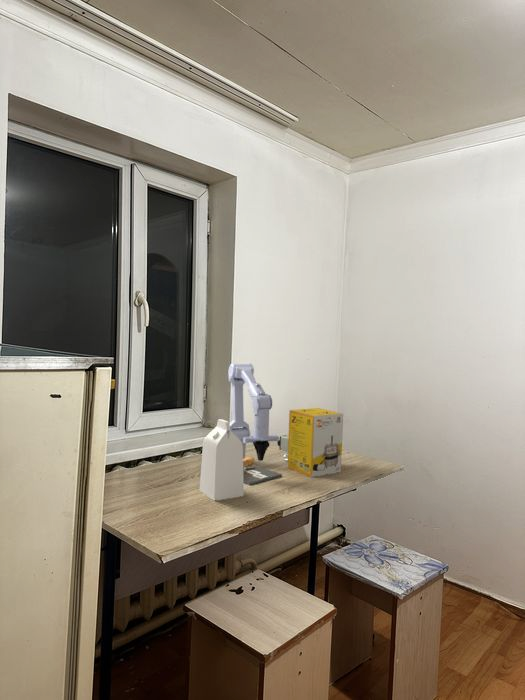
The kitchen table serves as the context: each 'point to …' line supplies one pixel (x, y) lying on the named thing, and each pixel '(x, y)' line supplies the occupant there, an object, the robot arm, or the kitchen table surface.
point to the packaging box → (315, 441)
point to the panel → (251, 479)
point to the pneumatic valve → (283, 445)
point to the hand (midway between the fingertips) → (260, 460)
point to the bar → (248, 461)
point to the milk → (222, 463)
